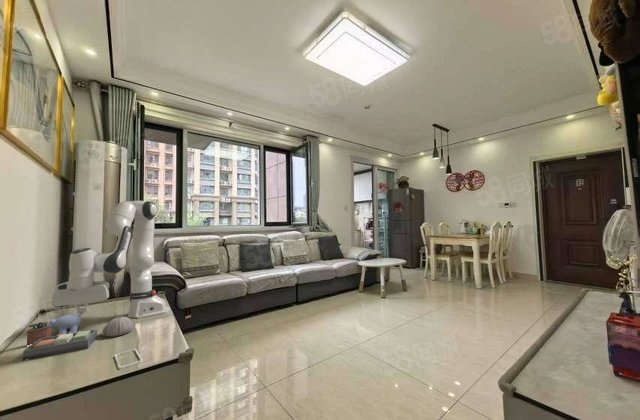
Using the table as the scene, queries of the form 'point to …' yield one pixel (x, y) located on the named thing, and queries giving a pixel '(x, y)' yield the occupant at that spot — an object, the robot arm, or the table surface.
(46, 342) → the terracotta key
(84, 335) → the sage key
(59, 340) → the cream key
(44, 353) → the grey tray
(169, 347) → the table surface
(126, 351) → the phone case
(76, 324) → the hippopotamus toy
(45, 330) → the lighter
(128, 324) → the sea urchin shell
